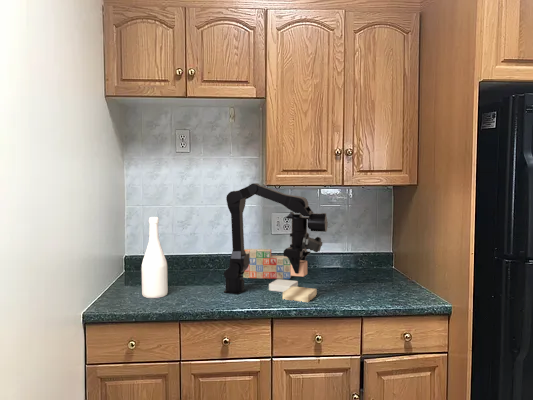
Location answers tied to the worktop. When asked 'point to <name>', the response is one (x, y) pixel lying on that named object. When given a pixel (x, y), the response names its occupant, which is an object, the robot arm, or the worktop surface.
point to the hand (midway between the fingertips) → (298, 271)
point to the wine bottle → (154, 265)
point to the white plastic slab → (282, 285)
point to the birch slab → (299, 294)
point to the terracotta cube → (300, 269)
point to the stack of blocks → (267, 265)
